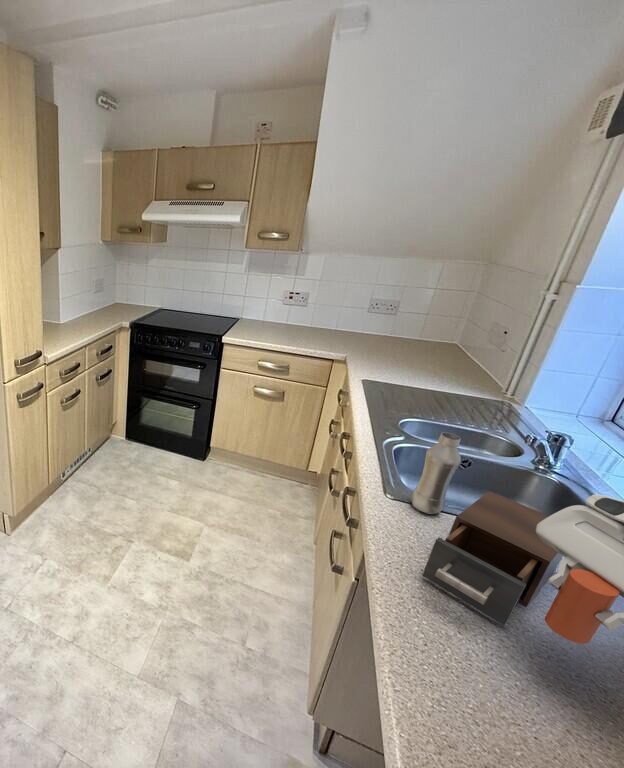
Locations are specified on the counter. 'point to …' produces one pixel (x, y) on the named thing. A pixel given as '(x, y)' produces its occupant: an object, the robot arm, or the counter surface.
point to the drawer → (481, 571)
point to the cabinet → (512, 534)
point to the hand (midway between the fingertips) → (576, 603)
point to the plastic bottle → (437, 474)
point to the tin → (580, 605)
